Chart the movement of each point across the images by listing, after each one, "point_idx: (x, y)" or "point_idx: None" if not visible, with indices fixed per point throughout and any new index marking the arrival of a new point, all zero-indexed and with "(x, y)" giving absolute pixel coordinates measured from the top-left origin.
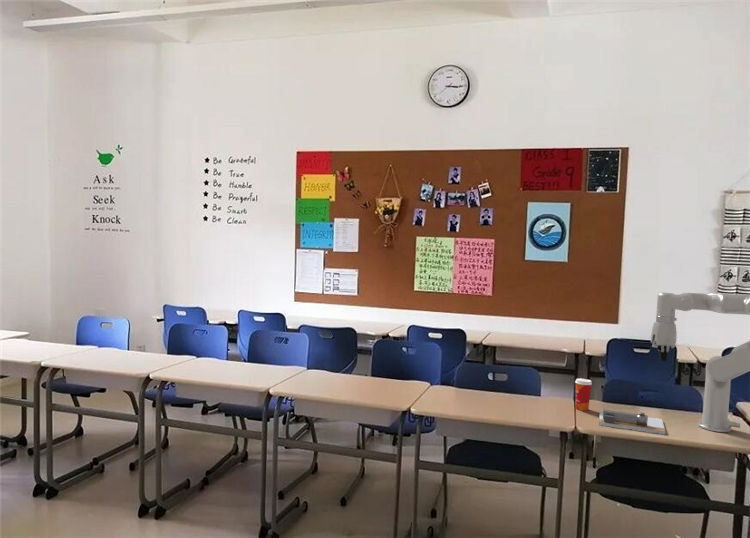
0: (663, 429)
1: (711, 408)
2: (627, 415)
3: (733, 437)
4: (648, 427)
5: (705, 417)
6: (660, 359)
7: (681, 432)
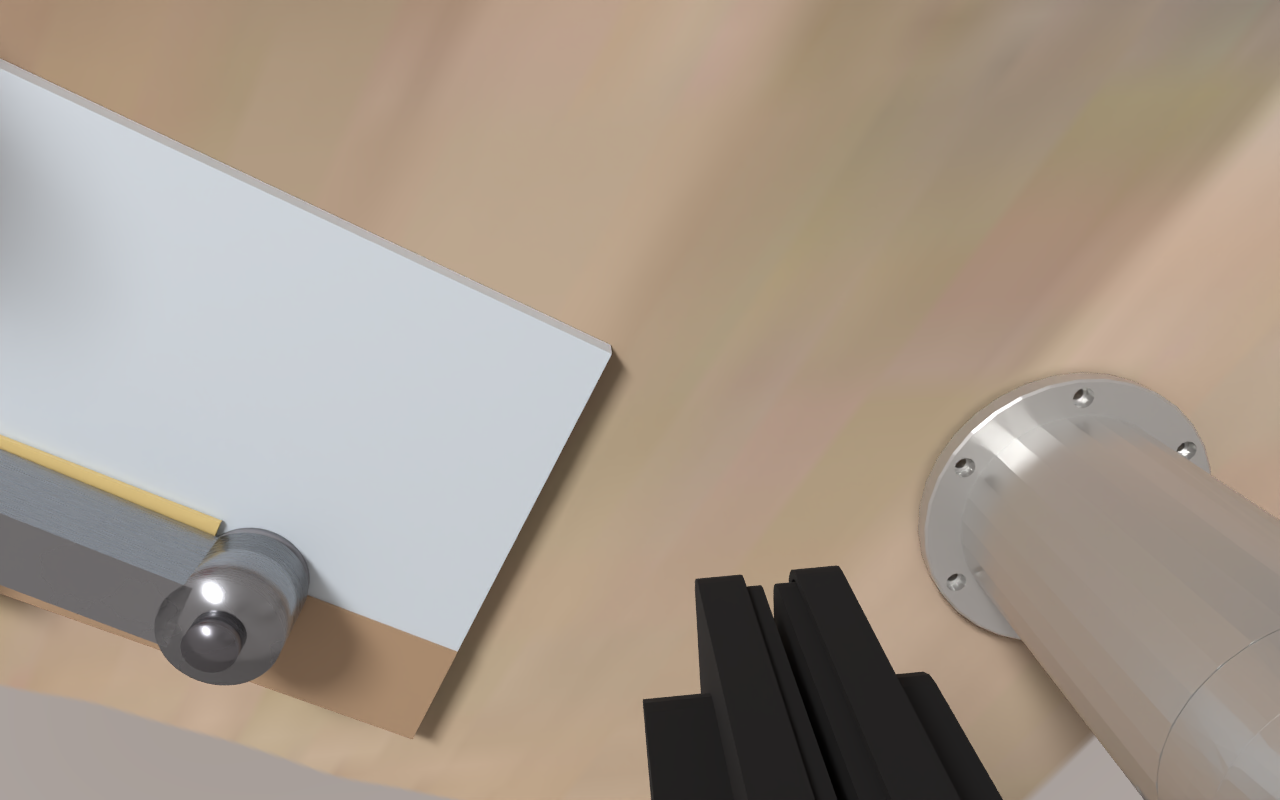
0: (426, 684)
1: (1064, 693)
2: (58, 598)
3: (1016, 730)
4: (297, 642)
5: (996, 568)
6: (701, 669)
7: (617, 649)
